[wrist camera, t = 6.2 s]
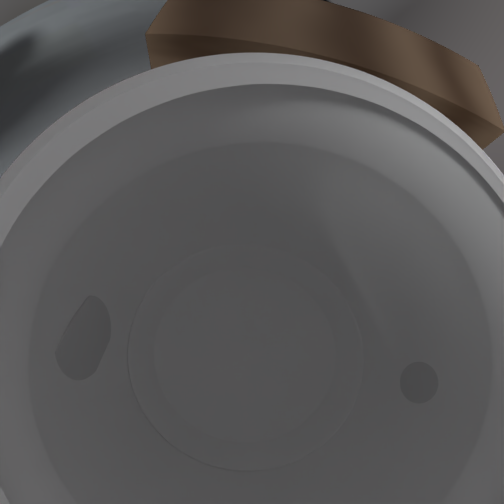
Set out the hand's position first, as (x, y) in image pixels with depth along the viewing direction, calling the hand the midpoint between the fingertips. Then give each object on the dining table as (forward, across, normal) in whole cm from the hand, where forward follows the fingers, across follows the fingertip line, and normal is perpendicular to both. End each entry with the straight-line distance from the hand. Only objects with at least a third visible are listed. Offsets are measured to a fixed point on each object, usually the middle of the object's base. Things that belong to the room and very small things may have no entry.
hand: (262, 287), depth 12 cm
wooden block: (+14, +3, +5) cm, 15 cm away
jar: (+2, 0, -6) cm, 7 cm away
